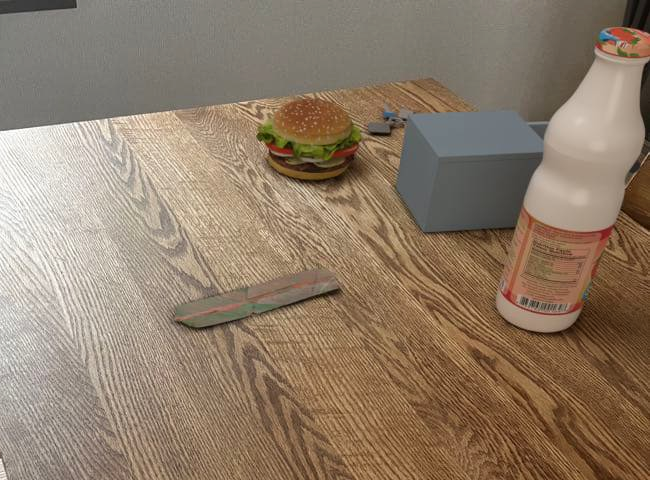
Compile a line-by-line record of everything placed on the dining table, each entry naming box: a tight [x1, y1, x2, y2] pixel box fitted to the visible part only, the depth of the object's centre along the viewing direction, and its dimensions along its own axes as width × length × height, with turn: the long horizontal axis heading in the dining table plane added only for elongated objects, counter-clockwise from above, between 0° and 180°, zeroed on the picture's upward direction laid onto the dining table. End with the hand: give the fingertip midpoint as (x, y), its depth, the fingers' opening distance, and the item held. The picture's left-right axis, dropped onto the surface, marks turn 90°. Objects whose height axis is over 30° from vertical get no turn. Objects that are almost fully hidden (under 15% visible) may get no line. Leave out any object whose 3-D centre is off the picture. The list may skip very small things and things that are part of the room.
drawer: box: [525, 120, 642, 174], centre depth 108 cm, size 19×11×8 cm, turn 100°
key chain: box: [367, 103, 415, 134], centre depth 127 cm, size 14×8×1 cm, turn 124°
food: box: [256, 97, 363, 181], centre depth 114 cm, size 14×14×8 cm
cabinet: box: [395, 109, 544, 233], centre depth 106 cm, size 15×13×10 cm
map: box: [173, 267, 340, 328], centre depth 93 cm, size 5×20×1 cm, turn 118°
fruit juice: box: [495, 26, 650, 333], centre depth 83 cm, size 9×9×28 cm
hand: (621, 110), depth 103 cm, fingers closed
